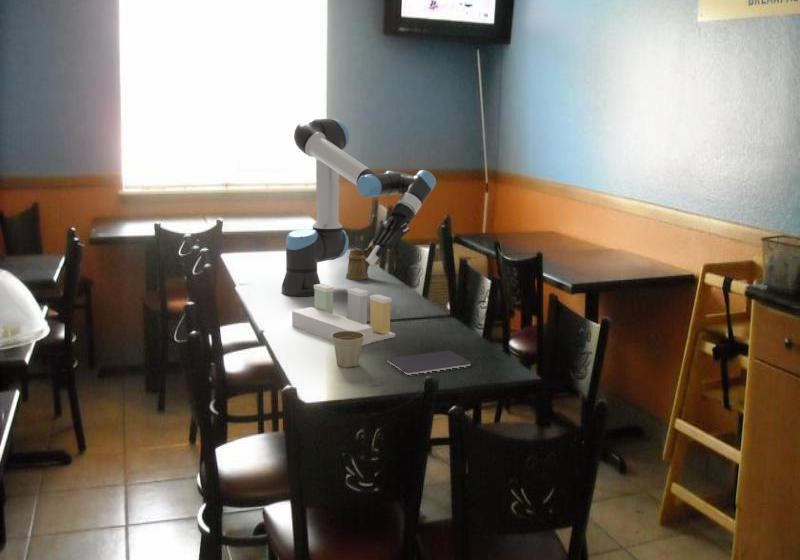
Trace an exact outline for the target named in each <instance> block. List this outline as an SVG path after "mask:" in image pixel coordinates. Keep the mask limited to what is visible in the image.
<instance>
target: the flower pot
mask: <svg viewBox="0 0 800 560" xmlns="http://www.w3.org/2000/svg"><path fill="white" fill-rule="evenodd" d="M331 337H332V338H333V340H332V342H333V344H334V351H335V358H336V359H335V360H336V365H338V367H341V366H342V367H341V368H347V367H348V368H351V367H353V366H355V367H357V366H358V365H359V363H360V358H361V350H362V346H363V345H362V342H363V338H364V337H365V335H364V334H363V333H361V332H357V331H339V332H335V333H333V334H332V335H331Z"/></svg>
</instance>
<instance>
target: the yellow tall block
mask: <svg viewBox="0 0 800 560" xmlns="http://www.w3.org/2000/svg"><path fill="white" fill-rule="evenodd" d="M392 299H393V298H392V297H389V296H385V295H382V294H379V293H376V294H372V295H369V300H370V307H369V308H370V310H369V314H370V315H369V325H370V327H372V331H375V332H378V333H381V334H385V333H389V332H391V304H392V303H391V302H393V301H392Z"/></svg>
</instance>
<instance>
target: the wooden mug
mask: <svg viewBox="0 0 800 560" xmlns="http://www.w3.org/2000/svg"><path fill="white" fill-rule="evenodd" d="M372 241H373V239H372V240H371V241H370V243H369V245H368V247H367V248H363V250H361V249H352V250H350V251H349V254H348V263H347V264H348V266H347V272H346V275H345V278H346V279H348V280H350V281H351V280H353V281H363V280H366V279H368V278H369V273H368V270H369V267H370V266H371V265H370V264H369V263H368V262H367V261H366V259H367V258H368V257H369V255H370V254H371V251H372V249H373V248H374V246H375V245H374V244H373V242H372ZM367 256H368V257H367Z"/></svg>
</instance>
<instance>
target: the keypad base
mask: <svg viewBox="0 0 800 560" xmlns="http://www.w3.org/2000/svg"><path fill="white" fill-rule="evenodd" d="M291 316H292V317H291V319H292V320H291V322H292V323H291V324H292V325H291V326H293V327H294V326H295V328H297V329H301V330H303V331H306V332H308V333H311V334H314V335H316V336H320V337H322V338H325V339H328V340H330V341H333V338H332V337H331V335H332V334H333V333H335V332H339V331H357V332H361V333H363V334H364V335H365V337H364V338H363V342H362V345H361V346H364V345H368V344H372V342H373V343H376V341H377V342H380V341H384V339H385V340H387V339H392V338H395V337H396V333H395V332H392V331H390V332H389V333H385V334H381V333H378V332H375V331H372V327H370V324H366V325H364V324H361V323H358V322H355V321H352V320H349V319H348V317H346V316H344V315H339V314H337V313H333V314H331V313H328V312H325V311H322V310H319V309H316V308H314V306H311V307H305V308H300V309H295V310H292V315H291Z"/></svg>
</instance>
